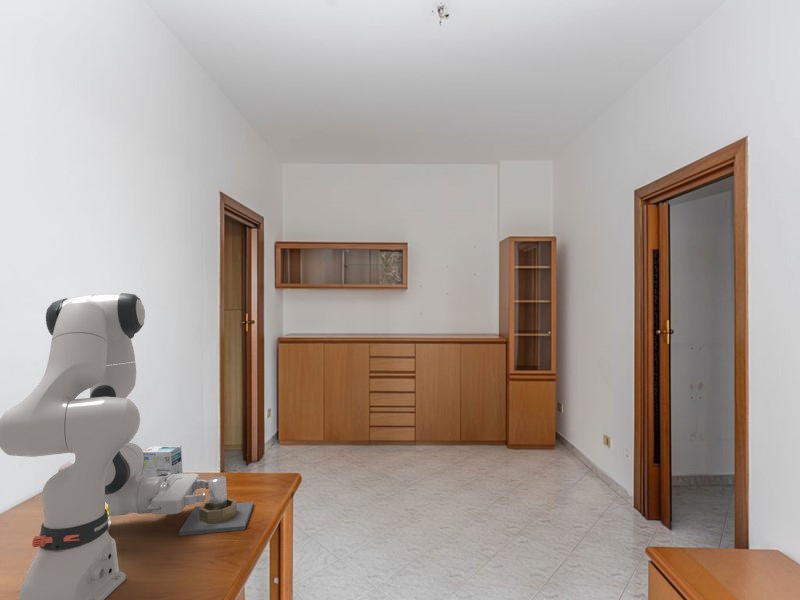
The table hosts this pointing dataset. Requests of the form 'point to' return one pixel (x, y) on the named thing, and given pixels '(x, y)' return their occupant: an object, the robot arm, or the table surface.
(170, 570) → the table surface
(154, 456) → the light bulb box
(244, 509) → the base plate
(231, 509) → the bronze ring
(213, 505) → the piston
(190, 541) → the table surface
